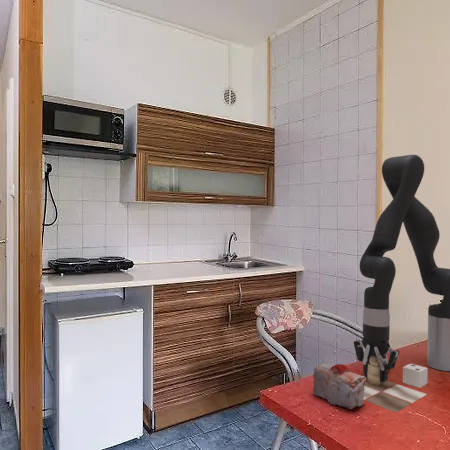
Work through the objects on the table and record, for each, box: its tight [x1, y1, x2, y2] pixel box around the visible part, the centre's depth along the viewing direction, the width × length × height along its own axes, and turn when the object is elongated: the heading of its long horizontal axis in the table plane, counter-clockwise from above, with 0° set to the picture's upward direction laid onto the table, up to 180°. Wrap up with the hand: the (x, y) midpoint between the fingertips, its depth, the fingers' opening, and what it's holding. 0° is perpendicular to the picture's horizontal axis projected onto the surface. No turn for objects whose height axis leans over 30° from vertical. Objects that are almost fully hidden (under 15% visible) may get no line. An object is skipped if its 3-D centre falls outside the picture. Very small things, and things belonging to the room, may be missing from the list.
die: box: [402, 363, 429, 389], centre depth 119 cm, size 5×5×5 cm
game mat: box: [364, 377, 428, 414], centre depth 112 cm, size 18×18×1 cm
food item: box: [312, 363, 366, 410], centre depth 106 cm, size 14×8×10 cm, turn 41°
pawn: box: [367, 356, 383, 386], centre depth 118 cm, size 4×4×8 cm
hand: (375, 379), depth 118 cm, fingers closed on pawn, 4 cm apart
